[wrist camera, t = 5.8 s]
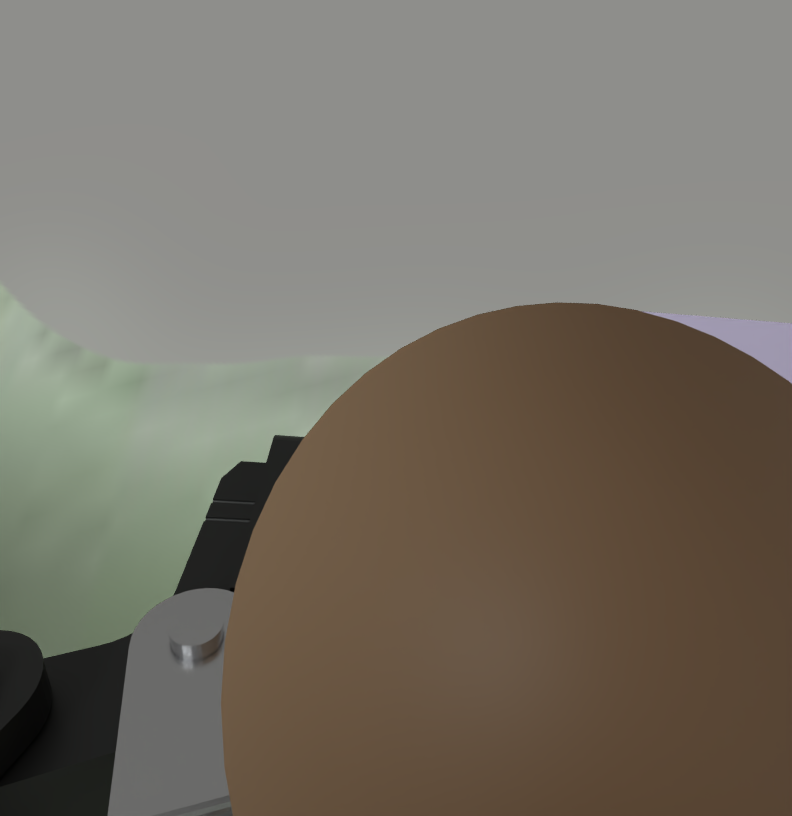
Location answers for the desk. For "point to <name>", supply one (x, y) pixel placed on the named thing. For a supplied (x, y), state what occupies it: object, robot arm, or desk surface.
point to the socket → (748, 338)
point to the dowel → (525, 583)
